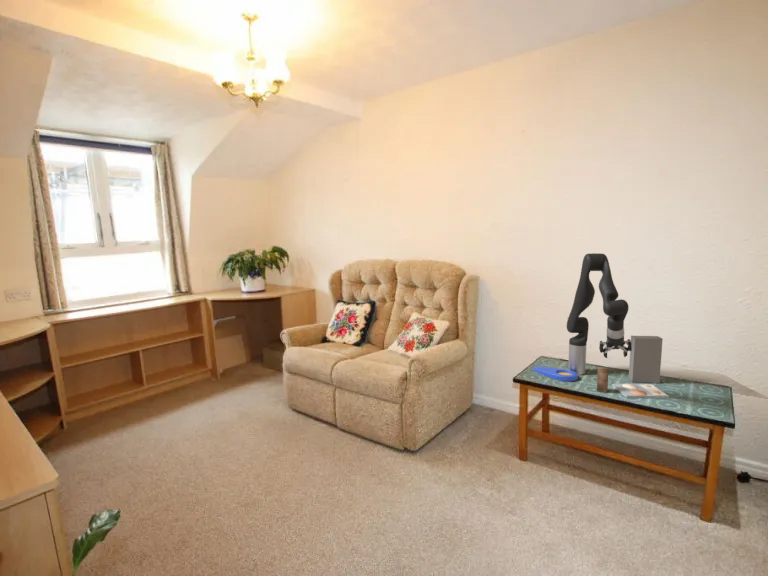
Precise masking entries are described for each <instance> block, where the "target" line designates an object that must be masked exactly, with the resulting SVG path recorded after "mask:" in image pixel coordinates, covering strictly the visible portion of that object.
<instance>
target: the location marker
mask: <svg viewBox="0 0 768 576" xmlns="http://www.w3.org/2000/svg"><path fill="white" fill-rule="evenodd" d="M534 371H535V372H534ZM533 372H534V373H536V372H537V373H536V374H538V373H539V374H538V375H541V374H542V375H541V376H543V375H544V377H546V376H547V377H546V378H549V377H550V378H549V379H552V378H553V380H556V381H560V382H575V381H577V380H578V377H579V375H578V374H577V373H576V372H574V371H571V370H568V369H566V368H565V369H564V368H563V369H562V368H556V367H549V366H547V367H545V366H533Z"/></svg>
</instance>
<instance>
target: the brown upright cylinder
mask: <svg viewBox="0 0 768 576" xmlns="http://www.w3.org/2000/svg"><path fill="white" fill-rule="evenodd" d="M609 372H610V371H609V368H608V367H603V366H599V367H597V377H596V392H598V393H604V394H606V393H608V389H609V388H608V387H609Z"/></svg>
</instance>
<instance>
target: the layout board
mask: <svg viewBox="0 0 768 576" xmlns="http://www.w3.org/2000/svg"><path fill="white" fill-rule="evenodd" d="M611 386H612V387H613V388H614V389H615V390H617V392H619V393H620V394H621V395H622V396H623V397H625V398H626V399H669V398H670V396H669V395H668V394H667V393H665V392H664V391H662V390H661V389H659V388H658V387H657V386H655V385H653V383H612V384H611Z"/></svg>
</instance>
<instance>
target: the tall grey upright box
mask: <svg viewBox="0 0 768 576" xmlns="http://www.w3.org/2000/svg"><path fill="white" fill-rule="evenodd" d="M630 341H631V346H632V351H629V364H628V365H629V366H628V375H627V379H628V380H629V381H630V382H632V383H646V384H653V383H655V384H660V383H661V365H662V350H663V338H662V337H661V336H658V335H631V336H630Z"/></svg>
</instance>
